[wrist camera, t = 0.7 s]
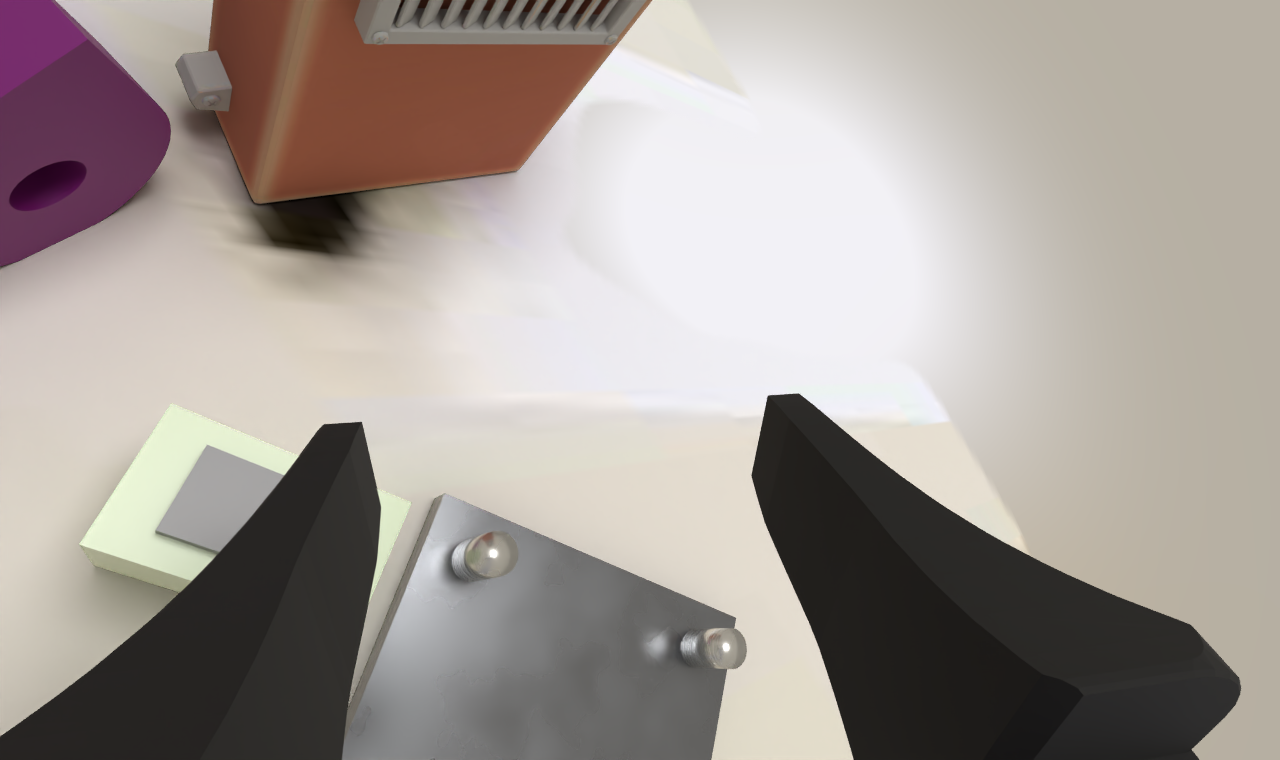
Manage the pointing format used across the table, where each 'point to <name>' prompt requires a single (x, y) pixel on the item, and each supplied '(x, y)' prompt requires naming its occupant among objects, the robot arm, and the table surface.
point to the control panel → (393, 86)
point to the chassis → (536, 655)
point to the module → (197, 501)
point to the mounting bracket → (66, 129)
